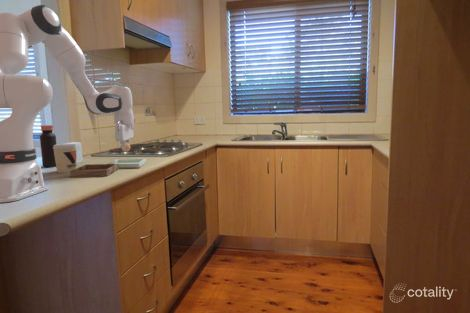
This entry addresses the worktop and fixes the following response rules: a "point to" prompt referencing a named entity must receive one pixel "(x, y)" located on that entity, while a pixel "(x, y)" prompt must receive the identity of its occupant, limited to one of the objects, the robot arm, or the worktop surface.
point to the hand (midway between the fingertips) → (125, 148)
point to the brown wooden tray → (94, 170)
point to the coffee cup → (65, 157)
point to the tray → (129, 163)
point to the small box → (78, 151)
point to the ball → (126, 147)
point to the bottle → (48, 146)
